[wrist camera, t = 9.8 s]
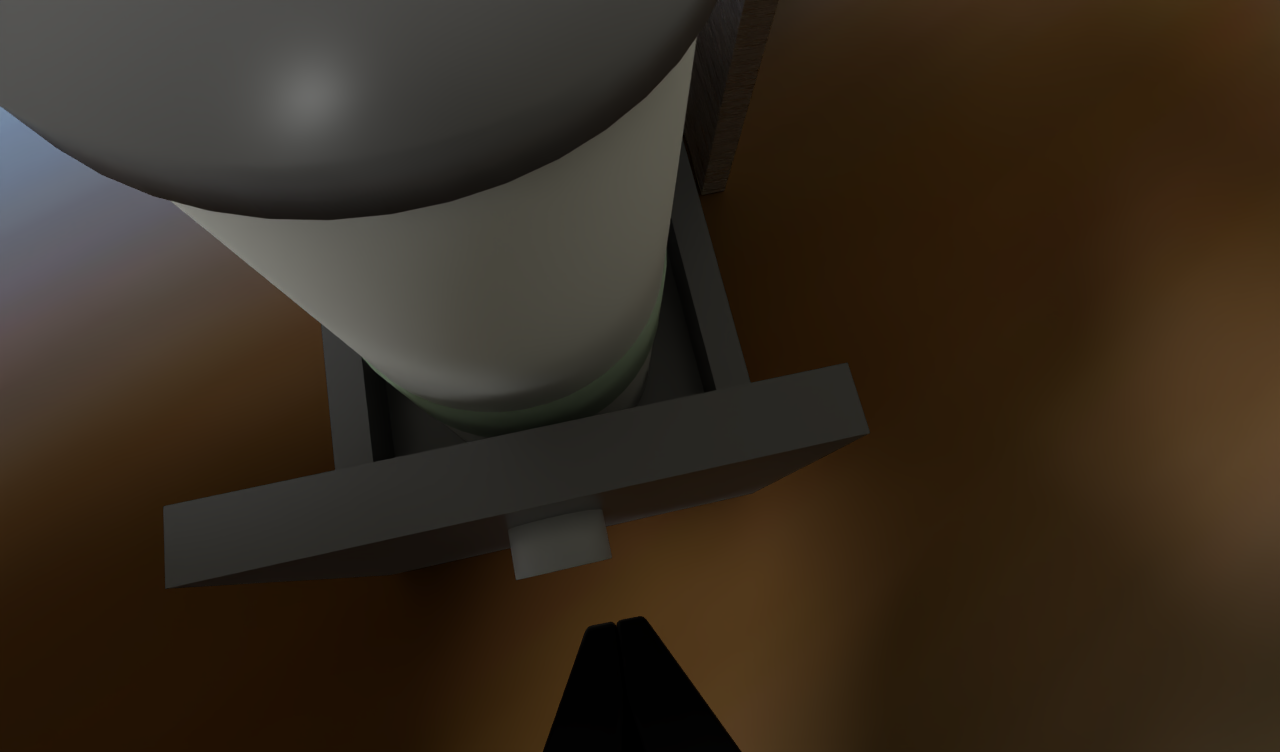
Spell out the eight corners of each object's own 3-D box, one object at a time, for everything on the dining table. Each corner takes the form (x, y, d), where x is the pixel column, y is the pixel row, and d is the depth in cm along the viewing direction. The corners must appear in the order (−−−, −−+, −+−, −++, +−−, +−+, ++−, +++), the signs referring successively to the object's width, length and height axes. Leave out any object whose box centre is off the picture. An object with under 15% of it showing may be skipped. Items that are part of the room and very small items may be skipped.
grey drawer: (775, 521, 16) (918, 485, 8) (377, 613, 15) (131, 667, 8) (684, 188, 19) (731, -74, 11) (338, 250, 18) (123, 14, 10)
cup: (707, 364, 16) (932, -160, 5) (517, 525, 15) (150, 376, 3) (556, 202, 17) (426, -548, 6) (368, 339, 16) (-295, -262, 4)
